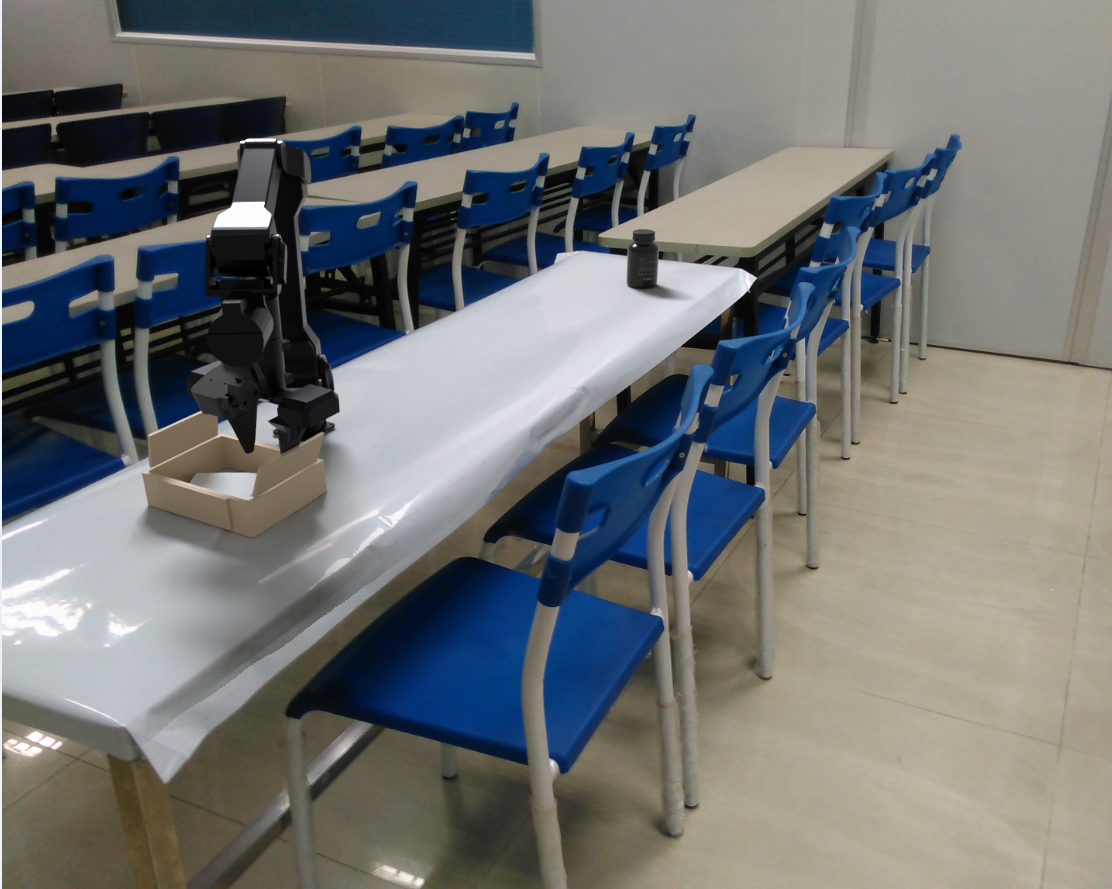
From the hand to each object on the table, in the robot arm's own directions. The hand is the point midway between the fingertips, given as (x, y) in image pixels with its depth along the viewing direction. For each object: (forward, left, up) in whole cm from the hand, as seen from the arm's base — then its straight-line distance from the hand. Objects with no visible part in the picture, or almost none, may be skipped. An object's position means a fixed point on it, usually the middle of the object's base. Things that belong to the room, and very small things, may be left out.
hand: (268, 458), depth 115 cm
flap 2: (0, +3, 0) cm, 3 cm away
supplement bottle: (-117, +1, -7) cm, 117 cm away
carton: (0, -6, -7) cm, 9 cm away
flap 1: (0, -14, 0) cm, 14 cm away
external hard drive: (0, -6, -7) cm, 9 cm away
